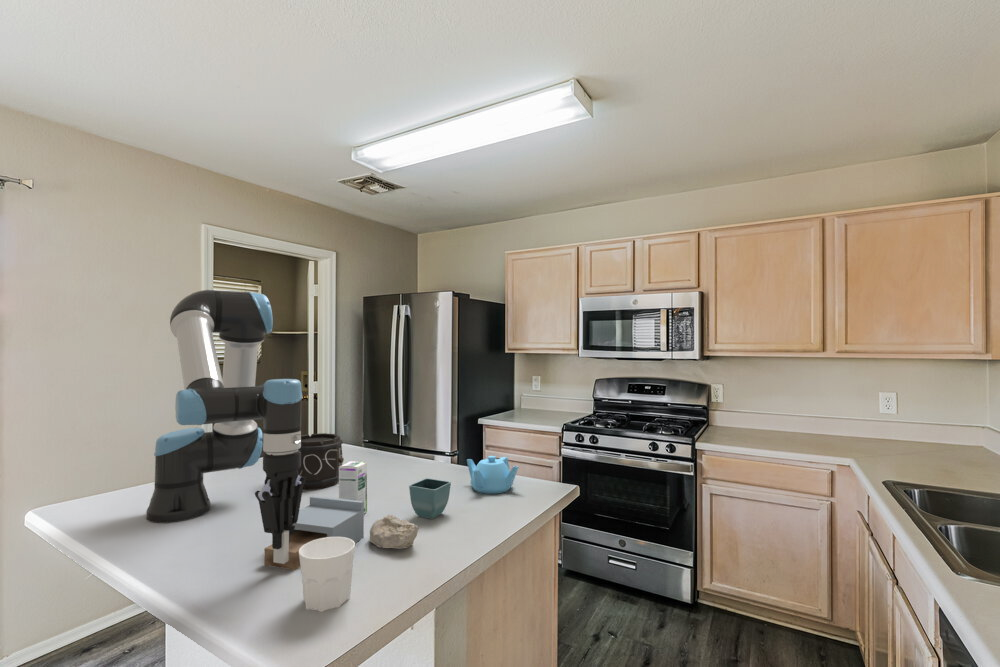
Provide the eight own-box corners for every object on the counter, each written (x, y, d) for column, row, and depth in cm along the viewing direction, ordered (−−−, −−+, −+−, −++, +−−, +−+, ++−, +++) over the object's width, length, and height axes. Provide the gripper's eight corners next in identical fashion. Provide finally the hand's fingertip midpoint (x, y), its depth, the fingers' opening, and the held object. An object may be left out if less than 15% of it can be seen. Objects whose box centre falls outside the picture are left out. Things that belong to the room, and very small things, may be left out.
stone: (387, 570, 112) (403, 536, 110) (358, 533, 119) (372, 500, 116) (412, 559, 118) (427, 527, 116) (382, 524, 125) (396, 493, 123)
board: (264, 566, 107) (264, 548, 107) (306, 541, 120) (306, 525, 120) (295, 571, 105) (295, 552, 105) (334, 545, 118) (334, 529, 118)
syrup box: (357, 519, 134) (358, 466, 135) (338, 517, 136) (338, 465, 136) (367, 512, 140) (367, 461, 140) (348, 510, 141) (348, 460, 141)
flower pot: (451, 512, 140) (451, 481, 140) (435, 523, 132) (435, 489, 132) (425, 508, 144) (425, 477, 144) (408, 518, 136) (408, 485, 136)
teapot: (519, 494, 157) (519, 460, 157) (473, 497, 154) (473, 463, 154) (508, 481, 172) (508, 450, 172) (466, 483, 169) (466, 452, 169)
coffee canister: (333, 491, 160) (333, 442, 160) (278, 490, 160) (279, 442, 161) (350, 475, 178) (350, 432, 178) (301, 475, 178) (302, 432, 179)
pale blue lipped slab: (277, 550, 114) (277, 512, 114) (312, 530, 126) (312, 495, 126) (332, 559, 110) (332, 518, 110) (363, 537, 122) (363, 501, 122)
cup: (321, 583, 99) (321, 534, 99) (364, 590, 96) (365, 540, 96) (286, 609, 89) (286, 554, 89) (333, 618, 86) (334, 561, 87)
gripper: (274, 459, 98) (273, 577, 97) (316, 446, 110) (315, 551, 110) (244, 456, 100) (243, 572, 100) (288, 444, 113) (287, 547, 112)
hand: (281, 561), depth 105 cm, fingers closed
